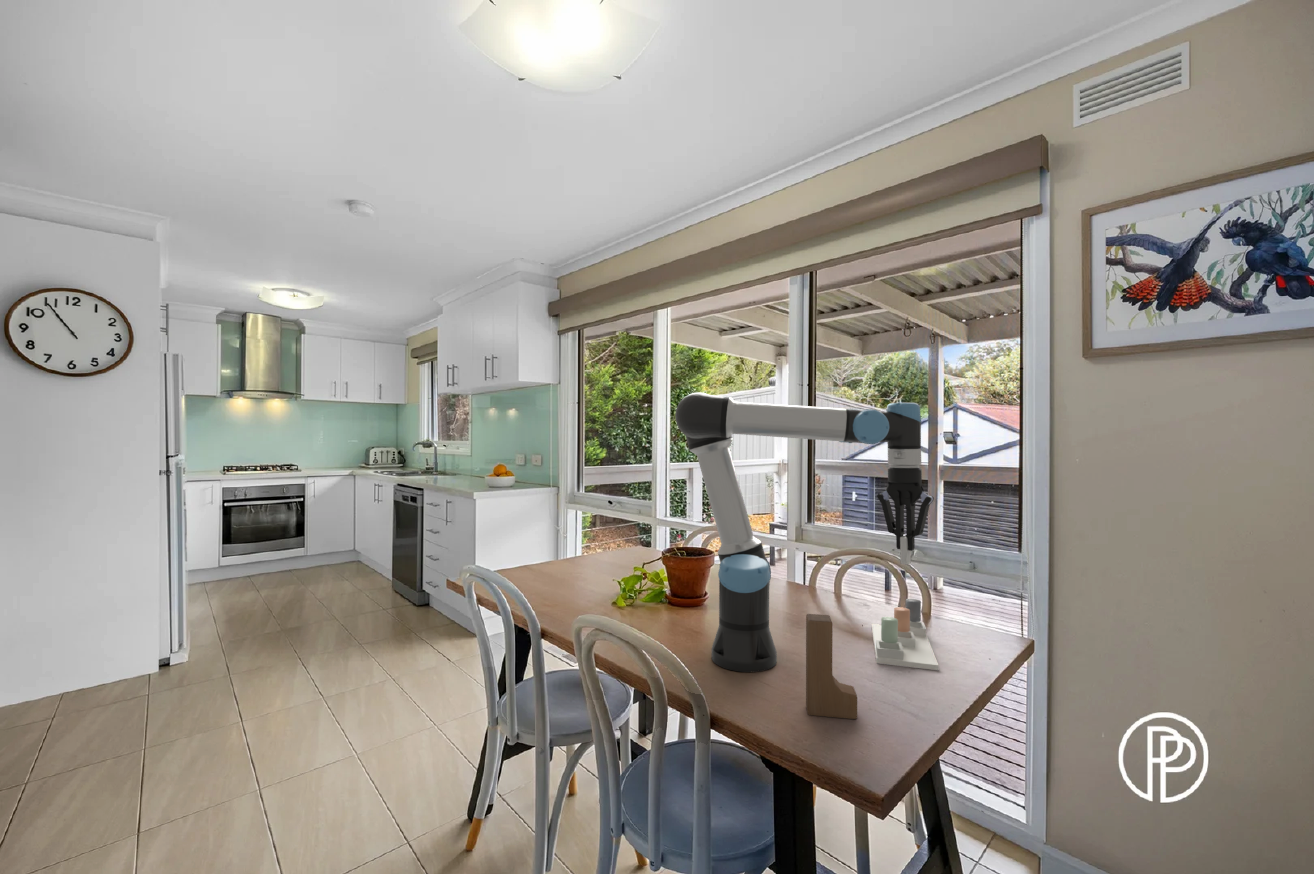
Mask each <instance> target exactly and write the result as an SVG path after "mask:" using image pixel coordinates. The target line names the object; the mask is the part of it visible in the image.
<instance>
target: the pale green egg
mask: <svg viewBox="0 0 1314 874" xmlns="http://www.w3.org/2000/svg"><path fill="white" fill-rule="evenodd" d="M880 620H881V621H880V623H881V624H880V625H881V640H882V641H883V642H886V643H897V642H898V620H897V619H896V618H894V616H882V617H881V618H880Z"/></svg>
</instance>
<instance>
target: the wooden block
mask: <svg viewBox="0 0 1314 874" xmlns="http://www.w3.org/2000/svg"><path fill="white" fill-rule="evenodd" d="M805 705H806V707H805V708H806V713H807V715H808V716H814V717H815V716H816V717H827V718H838V719H848V720H849V719H850V720H857V718H858V695H857V692H856V690H855V687H854V686H853V685H850V684H845V683H842V682H840V681H839V680H837V678H835V677H834V675H833V621H832V618H831V616H830V615H829V614H817V613H807V614H806V615H805Z"/></svg>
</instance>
